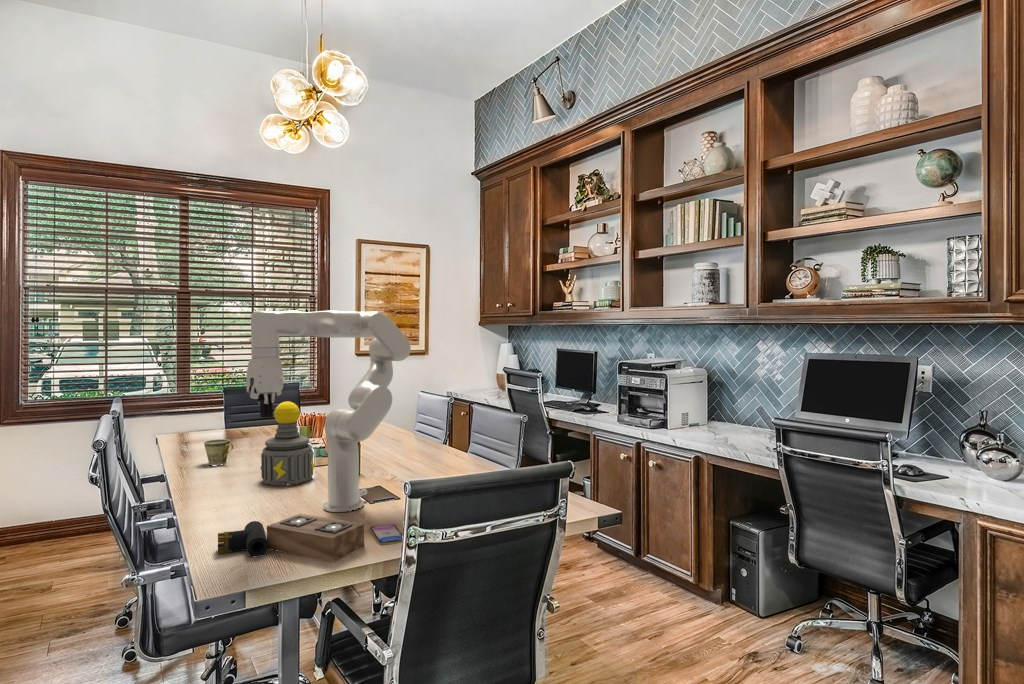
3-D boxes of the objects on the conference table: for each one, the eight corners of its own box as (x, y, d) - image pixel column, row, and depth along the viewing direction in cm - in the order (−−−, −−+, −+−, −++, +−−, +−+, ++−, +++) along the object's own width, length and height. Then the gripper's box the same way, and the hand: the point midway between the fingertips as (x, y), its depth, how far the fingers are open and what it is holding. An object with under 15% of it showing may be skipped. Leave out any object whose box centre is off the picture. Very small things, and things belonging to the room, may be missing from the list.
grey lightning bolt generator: (306, 486, 224) (305, 404, 223) (253, 487, 223) (252, 404, 222) (319, 473, 243) (318, 398, 242) (270, 474, 241) (269, 398, 241)
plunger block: (300, 534, 171) (300, 512, 170) (364, 546, 161) (364, 522, 161) (267, 548, 160) (266, 524, 160) (333, 562, 150) (332, 536, 150)
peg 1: (298, 540, 166) (298, 517, 166) (309, 542, 164) (309, 519, 164) (287, 545, 162) (286, 521, 162) (298, 547, 160) (298, 523, 160)
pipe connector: (218, 542, 151) (217, 524, 164) (218, 563, 151) (217, 544, 164) (268, 535, 156) (263, 519, 169) (268, 556, 156) (263, 538, 169)
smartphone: (394, 526, 179) (394, 522, 179) (407, 543, 165) (407, 539, 165) (368, 529, 176) (368, 526, 176) (379, 547, 162) (379, 543, 162)
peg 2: (333, 546, 161) (332, 523, 161) (345, 549, 159) (345, 525, 159) (322, 551, 157) (322, 527, 157) (334, 554, 155) (334, 529, 155)
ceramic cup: (198, 466, 256) (198, 442, 256) (216, 461, 266) (216, 438, 266) (224, 468, 253) (223, 444, 252) (241, 463, 262) (241, 440, 262)
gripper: (275, 352, 186) (276, 413, 186) (234, 354, 172) (236, 420, 172) (294, 352, 183) (295, 414, 183) (254, 355, 169) (255, 421, 169)
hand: (266, 416), depth 178 cm, fingers closed
